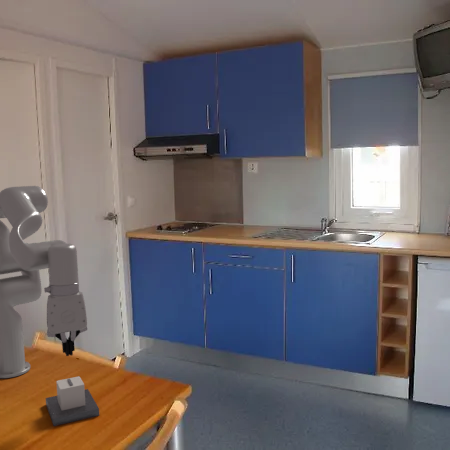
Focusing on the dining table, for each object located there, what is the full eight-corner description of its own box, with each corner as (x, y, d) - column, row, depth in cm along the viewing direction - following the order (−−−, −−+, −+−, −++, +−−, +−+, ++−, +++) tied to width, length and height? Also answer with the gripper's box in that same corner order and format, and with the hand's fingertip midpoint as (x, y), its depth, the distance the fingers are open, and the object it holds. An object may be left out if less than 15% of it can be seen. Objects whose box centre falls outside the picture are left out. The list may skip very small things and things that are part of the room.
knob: (57, 401, 147) (56, 379, 147) (80, 396, 150) (79, 375, 149) (61, 410, 142) (60, 388, 141) (85, 405, 145) (84, 383, 144)
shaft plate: (46, 404, 150) (44, 384, 149) (88, 395, 155) (87, 376, 154) (53, 426, 137) (52, 404, 137) (99, 415, 143) (98, 394, 142)
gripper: (37, 296, 135) (42, 364, 137) (95, 288, 142) (99, 353, 144) (33, 290, 142) (38, 355, 144) (89, 283, 149) (92, 345, 151)
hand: (68, 354), depth 144 cm, fingers closed
